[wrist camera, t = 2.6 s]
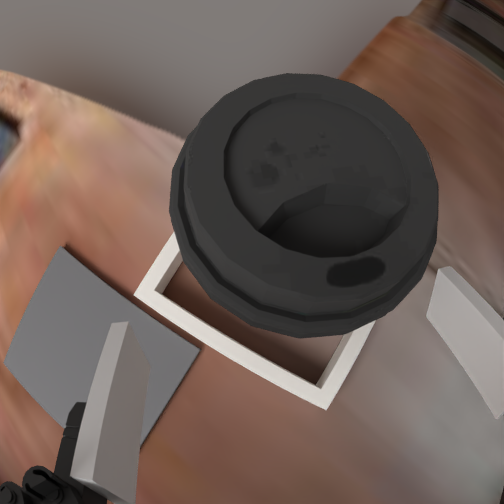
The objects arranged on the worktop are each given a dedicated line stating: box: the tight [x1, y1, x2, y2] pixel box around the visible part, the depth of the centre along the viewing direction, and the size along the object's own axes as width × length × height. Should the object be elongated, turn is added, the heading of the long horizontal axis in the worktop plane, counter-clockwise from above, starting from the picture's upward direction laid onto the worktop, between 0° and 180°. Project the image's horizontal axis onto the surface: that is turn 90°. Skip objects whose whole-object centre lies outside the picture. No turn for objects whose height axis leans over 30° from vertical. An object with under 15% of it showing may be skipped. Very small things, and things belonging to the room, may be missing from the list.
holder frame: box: [134, 233, 376, 410], centre depth 23 cm, size 16×16×2 cm
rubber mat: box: [4, 246, 201, 447], centre depth 22 cm, size 16×14×1 cm
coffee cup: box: [169, 73, 438, 338], centre depth 17 cm, size 11×11×15 cm
